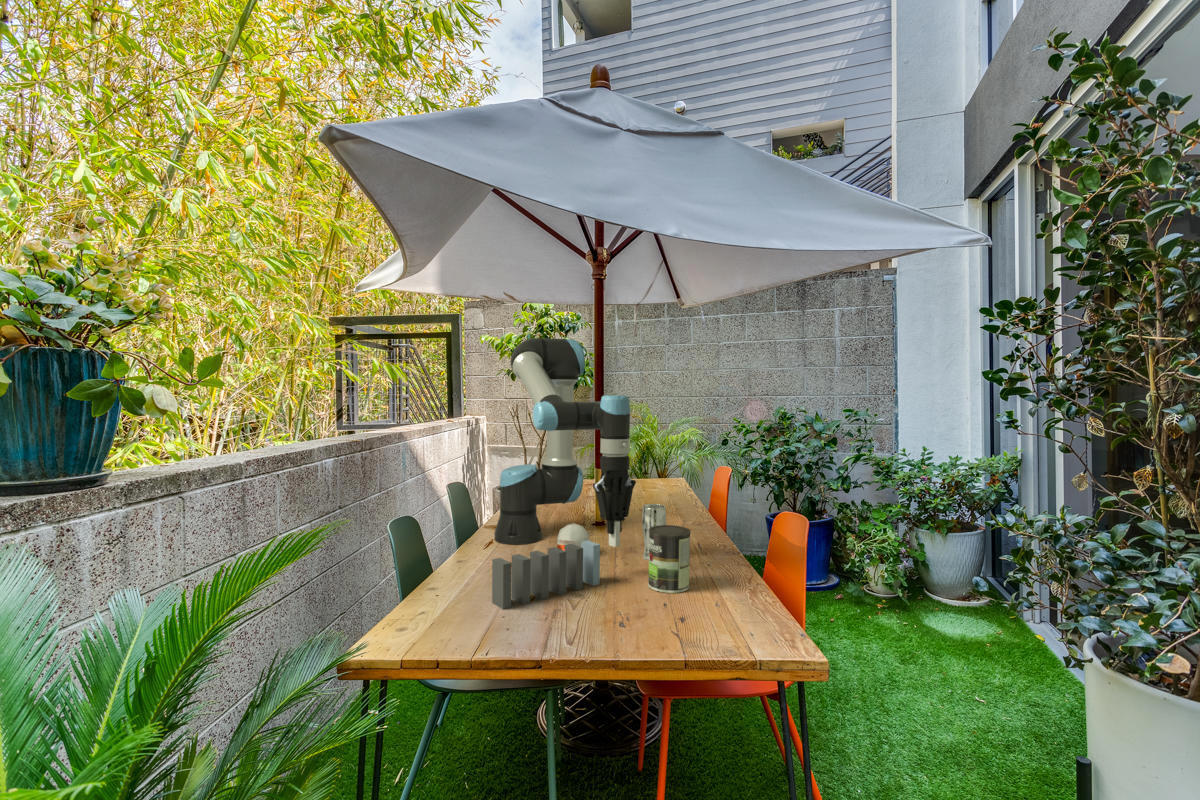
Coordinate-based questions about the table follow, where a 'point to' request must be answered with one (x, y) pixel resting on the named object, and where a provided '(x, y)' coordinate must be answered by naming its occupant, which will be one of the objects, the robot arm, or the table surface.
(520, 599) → the domino
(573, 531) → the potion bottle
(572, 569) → the domino
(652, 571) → the coffee can
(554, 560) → the domino
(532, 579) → the domino
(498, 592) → the domino
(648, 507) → the silver metal cylinder
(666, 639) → the table surface
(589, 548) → the domino
